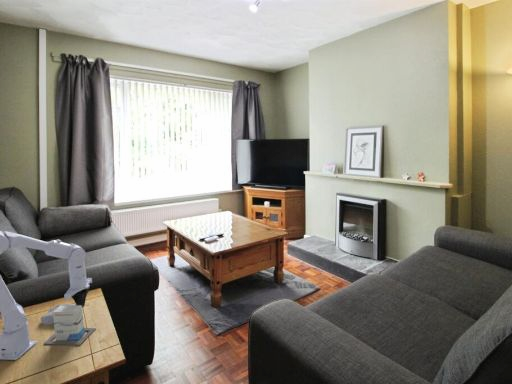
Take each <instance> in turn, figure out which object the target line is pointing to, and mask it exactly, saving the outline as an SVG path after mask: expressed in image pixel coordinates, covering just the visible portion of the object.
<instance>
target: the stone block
mask: <svg viewBox="0 0 512 384" xmlns="http://www.w3.org/2000/svg"><path fill="white" fill-rule="evenodd" d="M75 305H76V303H70V302H69V303H61V304H57V305H55V306H53V307H52V308H50V309H49V310H48V312H47V313H45V314H44V315H42V316H41V317H40V323H41V324H42V325H46V326H49V325H54V319H53V312H54V311H55V310H56V309H57V308H58V307H60V306H75Z"/></svg>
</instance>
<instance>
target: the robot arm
mask: <svg viewBox="0 0 512 384" xmlns="http://www.w3.org/2000/svg"><path fill="white" fill-rule="evenodd" d="M18 247H23V248H28V249H34V250H39V251H43V252H44V253H45V255H46V256H48V257H49V256H51V257H55V258H59V259H64V260H65V259H66V260H67V263H68V276H69V278H68V279H69V285H70V287H69V288H68V290H67V291H66V292H65V294H64V300H71V299H73V301H74V304H76V305H82V309H83V308H84V307H85V305H86V300H87V295H88V293H89V291H90V284H92V283H93V278H92V277H87V269H86V263H85V260H86V257H87V252H86V251H85V249H84V248H82V247H81V246H79V245H78V244H76V243H67V242H63V241H62V240H61V239H52V240H50V241H44V240H40V239H38V238H35V237H30V236H27V235H24V234H19V233H17V232H13V231H6V230H5V231H3V230H0V255H1V254H3V253H4V252H5V251H6V250H7V249H8V248H9V250H13V249H16V248H18ZM0 317H1V319H2V322H3V326H2V328H1V332H0V360H5V361H6V360H7V361H8V360H9V361H12V360H13V361H16V360H18V359H19V358H21V356H23V355H24V354H25V353H27V352H28V351H29V350H30V349H31V348H32V347H34V346H35V345H36V344H37V343H38V341H37V340H31V337H30V328H29V321H28V317H27V315H26V313H25V311H24V307H23V306H22V305H21V304H19V303H17V302H16V300H15V299H14V297H13V295H12V294H11V292H10V290H9V288H8V286H7V285H6V283H5V281H4V280H3V277H2V275H0Z"/></svg>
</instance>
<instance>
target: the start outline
mask: <svg viewBox="0 0 512 384" xmlns="http://www.w3.org/2000/svg"><path fill="white" fill-rule="evenodd" d="M96 330H97V328H96V327H84V331H85V332H87V333H86V334H85V335H84V336H82V337H81V338H80V339H79V341H67V340H62V341H56V340H54V339H56V336H55V333H54V334H52V335H51V336H49V338H48V339H47V340H46V341H44V342H43V345H46V346H47V345H49V346H53V345H54V346H77V347H78V346H81V345H83V343H84V342H85V341H86V340H87V339H88V338H89V337H90V336H91V335H92V334H93V333H94V331H96Z"/></svg>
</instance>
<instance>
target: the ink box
mask: <svg viewBox="0 0 512 384" xmlns="http://www.w3.org/2000/svg"><path fill="white" fill-rule="evenodd" d="M83 313H84V312H83V308H82V305H75V306H60V307H58V308H57V309H56V310H55V311H54V312H53V319H54V324H53V326H54V327H53V328H54V334H55V336H56V337H55V341H78V340H79V341H80V340H81V339H82V337H83V335H84V334H85V332H86V331H84V328H85V322H84V314H83Z"/></svg>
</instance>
